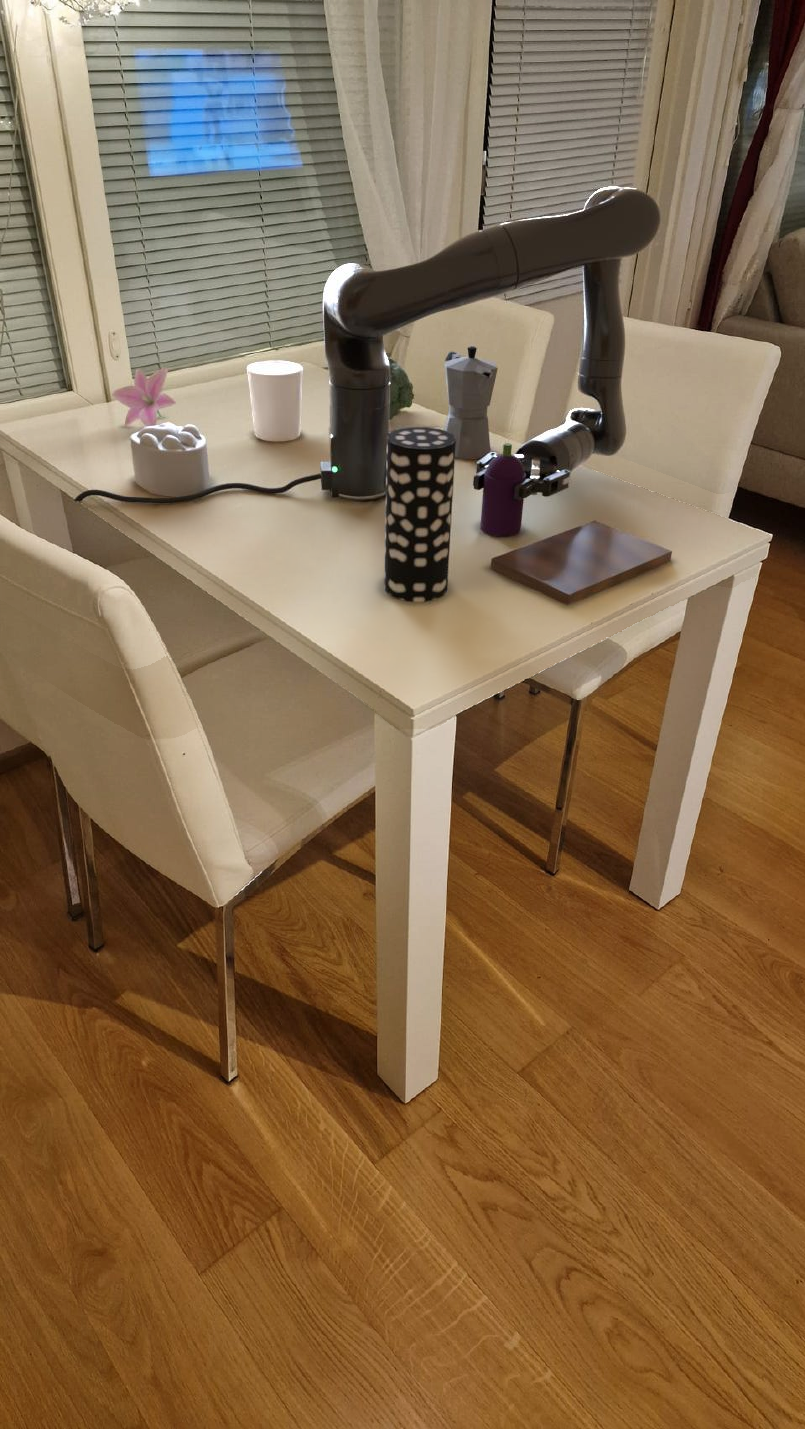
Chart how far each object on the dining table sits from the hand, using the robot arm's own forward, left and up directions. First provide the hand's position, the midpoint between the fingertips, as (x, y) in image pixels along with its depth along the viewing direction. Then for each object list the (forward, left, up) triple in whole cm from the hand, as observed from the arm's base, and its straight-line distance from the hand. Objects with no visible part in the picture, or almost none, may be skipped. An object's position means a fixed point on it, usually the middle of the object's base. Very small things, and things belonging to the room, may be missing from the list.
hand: (496, 488), depth 141 cm
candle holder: (-31, +47, -7) cm, 57 cm away
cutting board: (+11, -11, -7) cm, 17 cm away
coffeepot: (+2, +38, -7) cm, 39 cm away
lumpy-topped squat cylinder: (-48, +22, -7) cm, 53 cm away
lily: (-55, +54, -7) cm, 78 cm away
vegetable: (-11, +57, -7) cm, 58 cm away
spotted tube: (-13, -17, -7) cm, 23 cm away
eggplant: (+2, +2, -7) cm, 7 cm away
